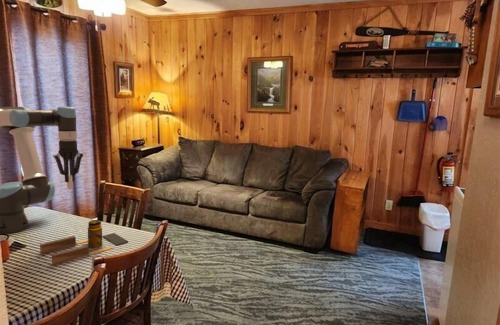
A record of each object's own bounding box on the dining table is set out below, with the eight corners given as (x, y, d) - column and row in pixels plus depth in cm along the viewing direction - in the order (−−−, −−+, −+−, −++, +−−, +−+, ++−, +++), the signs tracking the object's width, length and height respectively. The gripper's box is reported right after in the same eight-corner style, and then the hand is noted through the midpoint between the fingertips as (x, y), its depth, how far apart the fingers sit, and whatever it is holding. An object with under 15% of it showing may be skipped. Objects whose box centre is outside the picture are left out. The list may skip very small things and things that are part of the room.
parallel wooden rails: (40, 252, 145) (39, 244, 144) (74, 243, 156) (73, 235, 155) (53, 265, 135) (53, 256, 134) (89, 254, 145) (88, 246, 145)
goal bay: (75, 242, 157) (75, 242, 157) (97, 237, 164) (97, 236, 164) (91, 254, 146) (91, 254, 146) (113, 248, 153) (113, 247, 153)
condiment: (105, 247, 154) (104, 222, 152) (85, 251, 149) (84, 225, 147) (100, 241, 160) (100, 217, 158) (81, 245, 154) (80, 221, 152)
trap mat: (102, 237, 165) (102, 236, 164) (114, 234, 169) (114, 232, 169) (116, 245, 156) (116, 244, 155) (128, 242, 160) (128, 241, 160)
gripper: (55, 141, 149) (58, 192, 153) (85, 140, 159) (87, 187, 163) (49, 139, 154) (52, 188, 158) (78, 138, 163) (80, 184, 167)
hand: (70, 188), depth 160 cm, fingers closed
